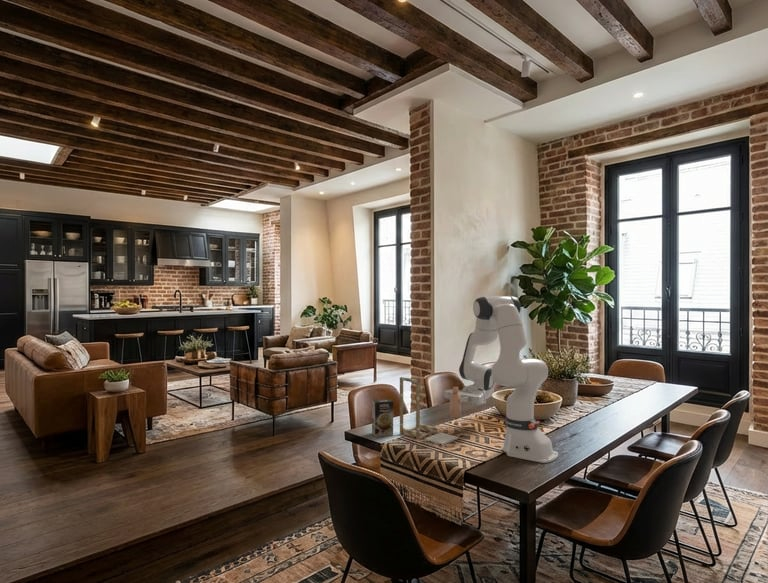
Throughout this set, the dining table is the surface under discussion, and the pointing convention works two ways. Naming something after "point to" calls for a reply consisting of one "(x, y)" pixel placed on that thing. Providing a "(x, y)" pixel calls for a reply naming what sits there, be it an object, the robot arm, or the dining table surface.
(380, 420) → the coffee box
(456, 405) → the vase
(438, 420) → the dining table surface
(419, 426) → the rack
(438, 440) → the coaster
